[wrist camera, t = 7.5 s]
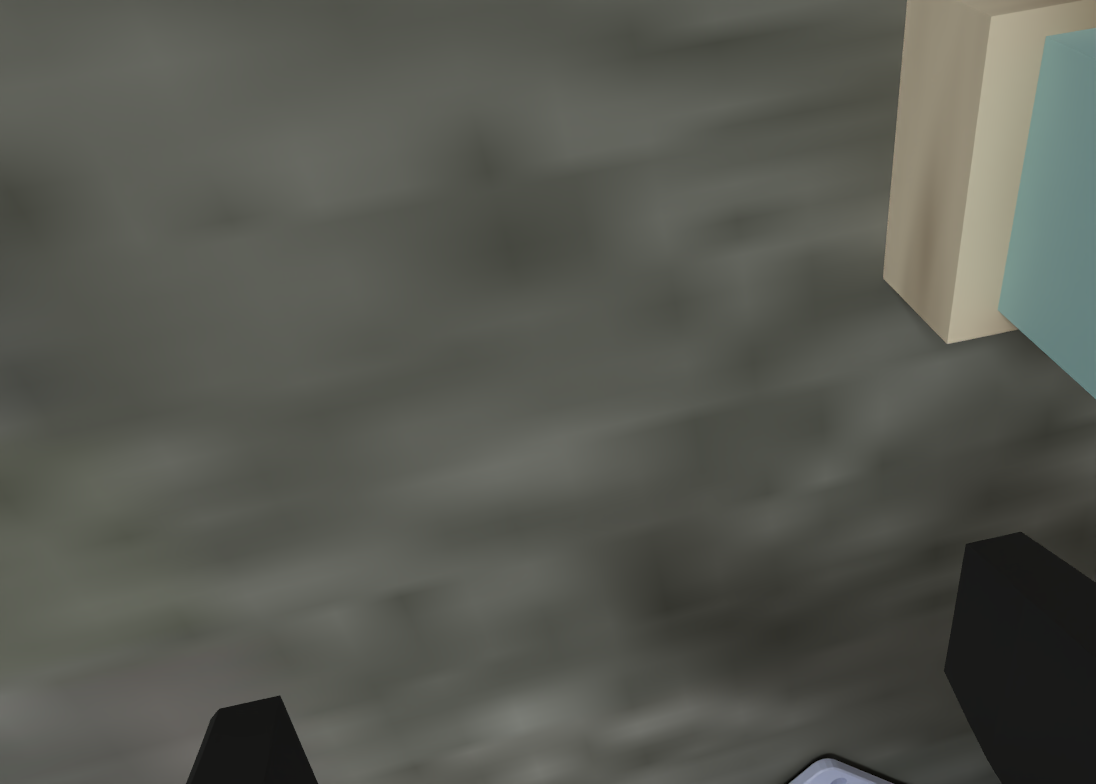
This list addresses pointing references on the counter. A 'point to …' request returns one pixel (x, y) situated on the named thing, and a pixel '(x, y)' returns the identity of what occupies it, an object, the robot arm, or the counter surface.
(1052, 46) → the teal block
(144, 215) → the counter surface
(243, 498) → the counter surface
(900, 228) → the beech block
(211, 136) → the counter surface
